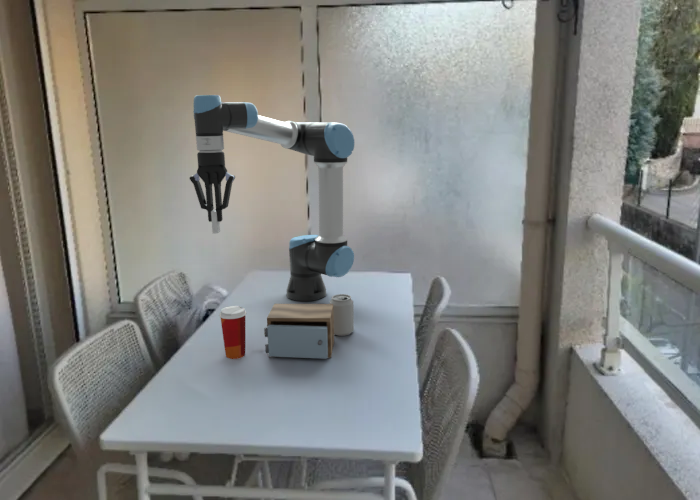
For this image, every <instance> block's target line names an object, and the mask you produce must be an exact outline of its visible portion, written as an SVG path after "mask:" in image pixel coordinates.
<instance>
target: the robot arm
mask: <svg viewBox="0 0 700 500" xmlns="http://www.w3.org/2000/svg"><path fill="white" fill-rule="evenodd" d="M192 113H193V119H194V128H195V141H196V150H197V151H199V152H197V154H196V156H197V170H196V173H195V174H193V175H191V176H190V177H189V181H190V182H191V183H192V184H193V187H194V191H195V193H196V197H197V200H198V203H199V206H200V209H201V210H206V212H207V218H208V219H207V220H208V222H209V223H211V228H212V229H211V232H212V234H219V233H220V232H221V225H220V223H221V222H222V221H223V210H225V209H226V208H228V206H229V204H230V203H229V202H230V197H231V192H232V191H231V190H232V185H233V182H234V181H235V179H236V175H232V174H231V173H229V172H228V169H227V168H226V160H225V159H226V158H225V152H224V151H223V150H224V149H225V143H224V132H228V133H232V134H236V135H240V136H243V137H244V136H245V137H249V138H254V139H257V140H261V141H266V142H271V143H274V144H279V145H280V146H281V147H282V148H284V149H287V150H290V151H294V152H298V153H301V154H304V155H306V156H311V157H312V156H313V163H314V164H315V165H316V167H318V169H317V170H318V177H317V178H318V234H305V235H299V236H295V237H292V238H291V239H290V240H289V246H288V251H289V252H288V253H289V269H290V277H289V281H288V283H287V287H286V297H287V298H288V299H290V300H292V301H298V302H310V301H317V300H320V299H323V298H324V297H326V296H327V288H326V286H325V285H326V284H325V282H324V280H323V276H322V275H325V276H328V277H331V278H332V277H333V278H341V277H345V276H346V275H347V274H348V273H349V271H350V270H351V269H352V267H353V265H354V261H355V252H354V251H353V250H352V248H351V247H349V245H348V237H347V236H345V235H344V166H345V165H346V164H347V163H348V157H350V156H351V155H352V154H353V151H354V150H355V138H354V134H353V132H352V130H351V129H350V128H349V126H347V125H346V124H344V123H342V122H336V121H335V122H334V121H329V122H328V121H327V122H326V121H325V122H324V121H323V122H320V121H319V122H313V121H311V122H310V121H309V122H308V121H307V122H297V121H293V120H287V121H281V120H277V119H274V118H271V117H268V116H267V117H266V116H262V115H259V112H258V109H257V107H256V105H255V104H253V103H252V102H245V101H241V102H240V101H238V102H237V101H236V102H234V101H233V102H230V101H229V102H223V101H222V99H221V96H220V95H218V94H199V95H195V96H194V97H193V112H192ZM224 178H225V181H226V183H225V186H224V193H223V196H222V188H221V187H222V182H223V180H224ZM200 179H201V180H202V182H203V183H204V188H205V194H204V191H203V187H202V183H201V182H200ZM213 189H214V193H213ZM213 196H214V197H213ZM222 198H223V199H222ZM214 199H215V200H214ZM214 201H215V202H214ZM214 203H215V207H214Z"/></svg>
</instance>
